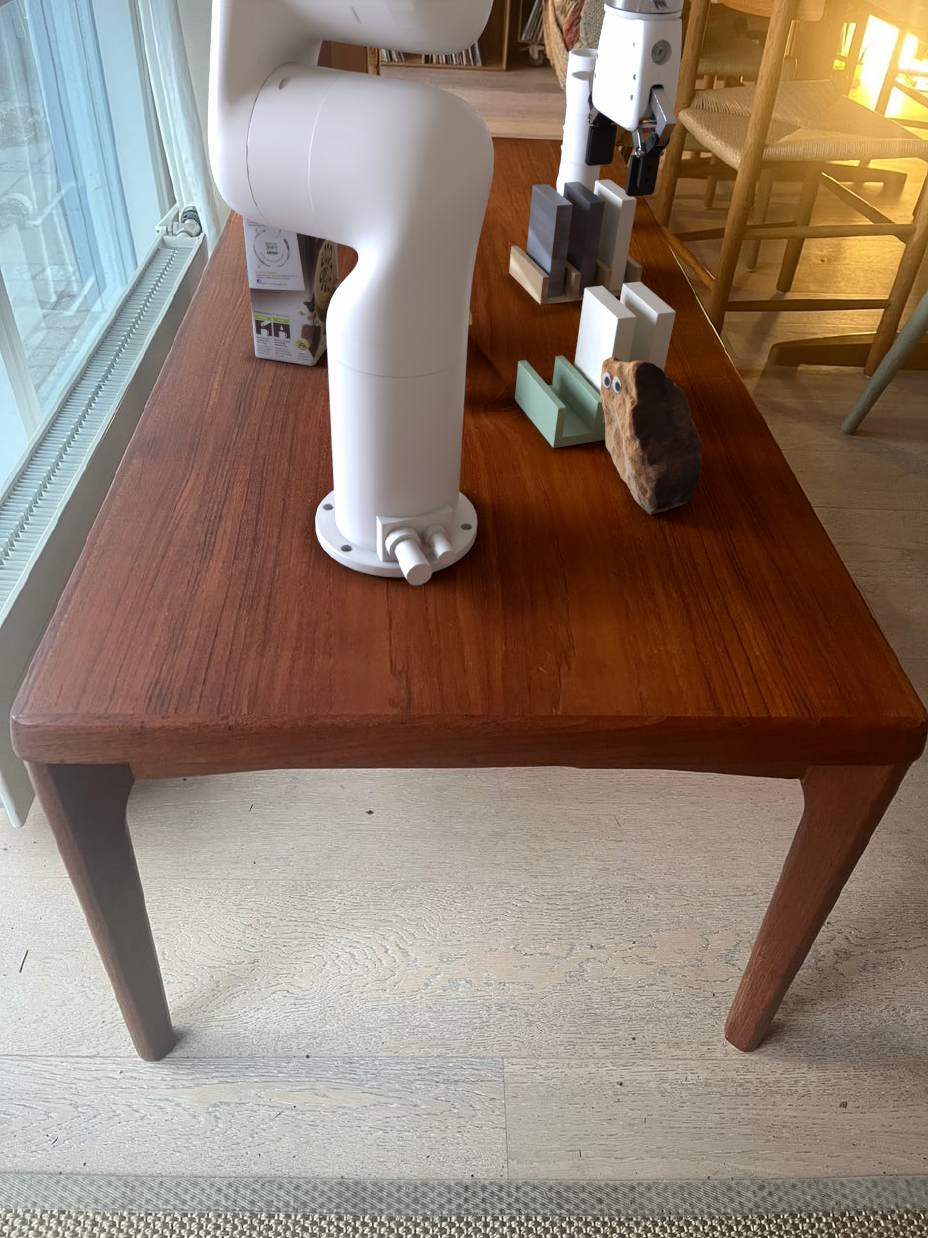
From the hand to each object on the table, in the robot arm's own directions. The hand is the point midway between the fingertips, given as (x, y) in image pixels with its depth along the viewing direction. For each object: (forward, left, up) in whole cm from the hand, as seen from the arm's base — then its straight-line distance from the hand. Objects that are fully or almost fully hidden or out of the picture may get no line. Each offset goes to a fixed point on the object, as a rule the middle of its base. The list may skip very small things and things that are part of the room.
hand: (618, 178), depth 106 cm
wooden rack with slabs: (0, +4, -12) cm, 13 cm away
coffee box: (-5, +37, -12) cm, 39 cm away
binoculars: (+22, -7, -12) cm, 26 cm away
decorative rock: (-37, +15, -12) cm, 42 cm away
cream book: (0, 0, -11) cm, 11 cm away
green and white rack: (-26, +14, -12) cm, 32 cm away
